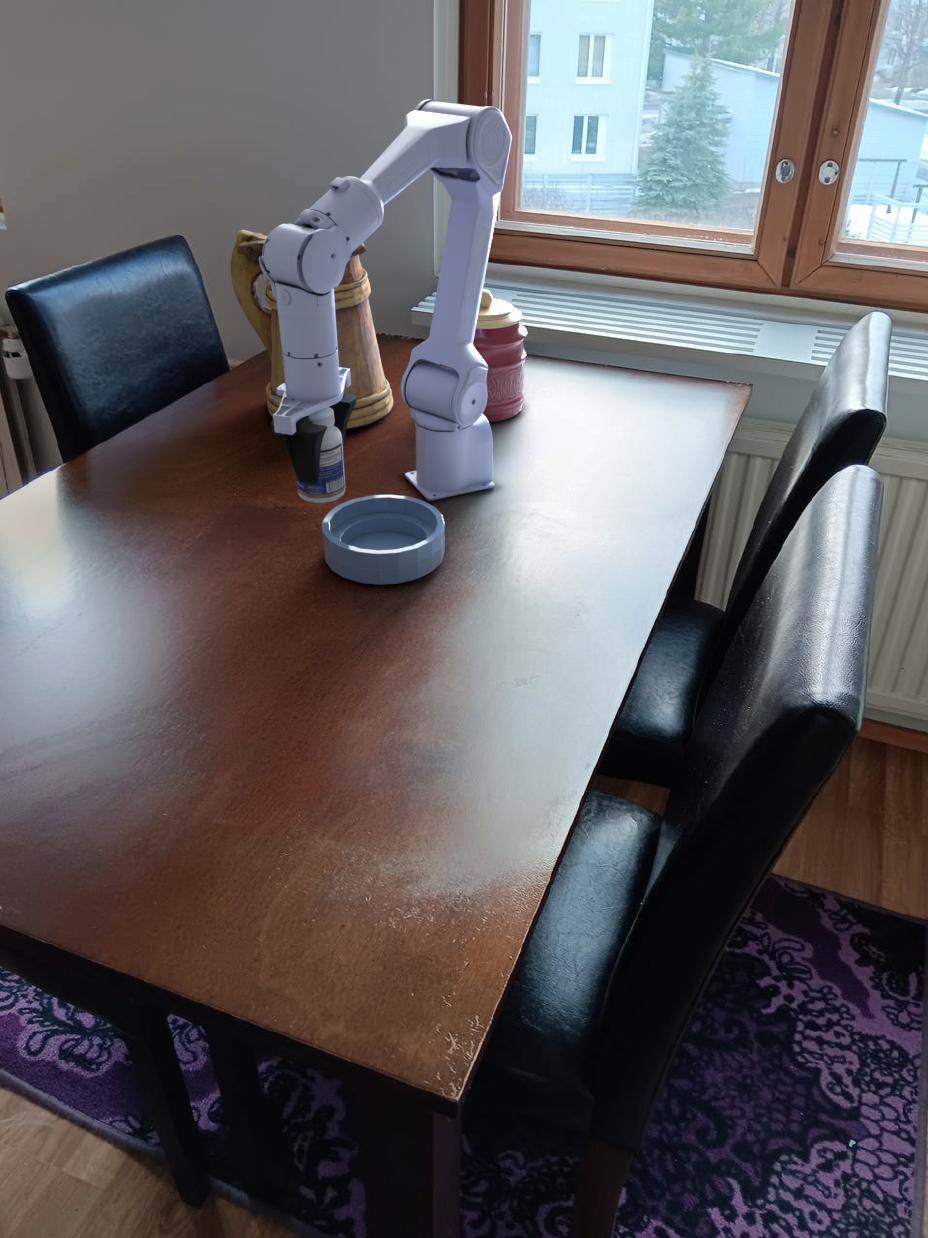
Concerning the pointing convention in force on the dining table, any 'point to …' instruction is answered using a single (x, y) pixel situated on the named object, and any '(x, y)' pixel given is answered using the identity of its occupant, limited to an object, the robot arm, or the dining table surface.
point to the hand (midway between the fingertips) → (320, 469)
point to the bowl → (383, 539)
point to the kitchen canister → (501, 356)
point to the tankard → (351, 328)
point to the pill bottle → (326, 463)
